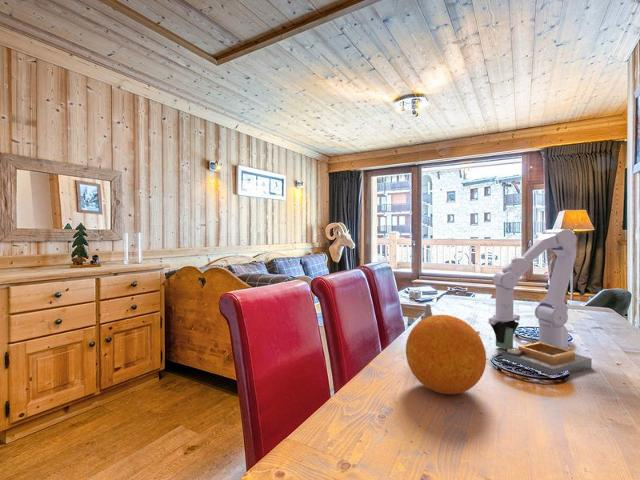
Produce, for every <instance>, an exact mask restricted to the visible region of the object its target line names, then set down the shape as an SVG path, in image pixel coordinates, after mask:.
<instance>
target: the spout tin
mask: <svg viewBox="0 0 640 480" xmlns="http://www.w3.org/2000/svg"><path fill="white" fill-rule="evenodd" d="M495 347H498V348H500V349H504V350H507V348H514V335H513V329H512V328H509V327H507V328H506V330H505V334H504V342H503V343H499V342H497V340H496V339H495Z"/></svg>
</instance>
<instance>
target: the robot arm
mask: <svg viewBox="0 0 640 480" xmlns="http://www.w3.org/2000/svg"><path fill="white" fill-rule="evenodd" d="M577 241H578V237H577V236H576V234H575V233H574V231H573V230H571V229H568V228H564V229H563V228H562V229H546V230H544V231H543V232H542V234H539V235H538V237H537V239H536V240H535V242H534V243H533V244H532V245H531V246H530V247H529V248H528V249H527V251H525V252H524V254H523V255H522V256H517V257H513V258H512V259H511V260H510V261H511V262H510V263H508V264H507V266H505V267H503V268H502V271H498V272H496V273H495V274H494V276H493V278H492V283H493V285H494V286H495V314H493V315H492V317H489V318H488V324H489V325H490V326H491V328H492V330H493V333H494V335H495V341H496V340H497V342H499V343H503V342H504V334H505V330H506V328H507V327H509V328H512V329H513V336H514V335H515V332H516V329H517V328H518V327H519V322H518V321H521V315H519V314H514V289H515V287H517V285H518V282H519V280H520V278H521V277H522V276H524V274H526V272H527V271H529V269H530V268H531V263H532V262H533V261H534V260H536V259H537V258H538V257H539V256H540V255H541V254H543V253H544V252H545V251H546V250H551V251H552V252H554V254H555V255H556V259H555V262H554V265H553V266H554V267H553V271H552V273H551V277H550V281H549V283H548V284H549V285H548V288H547V291H546V294H545V296H544V297H542V298H541V299H540V300H539V303H538V305H536V307H535V309H534V316H535V317H536V319H537V321H538V322H537V323H538V342H545V343H548V344H550V345H552V346H555V347H559V348H563V349H566V350H571V347H569V331H568V329H567V327H566V324H567V322H568V319H569V315H568V309H569V307H568V305H567V304H566V303H565V297H566V294H567V290H568V287H569V283H570V279H571V276H572V271H573V269H574V265H575V261H576V258H577V249H576V248H577V247H576V245H577Z"/></svg>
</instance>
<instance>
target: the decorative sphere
mask: <svg viewBox="0 0 640 480" xmlns="http://www.w3.org/2000/svg"><path fill="white" fill-rule="evenodd" d="M433 315H434V316H430V317H427V318H425V319H423V320H421V319H420V320H421V321H420V320H419V321H420V322H419V321H418V322H419V323H418V322H417V323H416V324H415V325H414V327H412V329H411V331H410V332H409V334H408V337H407V339H406V344H405V356H406V357H405V358H406V363H407V365H408V367H409V370H410V371H411V373H412V374H413V376H414V377H415V379H417V381H418V382H419V383H420V384H422V385H423V386H424V387H426V388H427V389H429V390H430V391H433V392H436V393H438V394H442V395H457V394H462V393H464V392H467V391H469V390H471V389H472V388H473V387H475V386H476V385H477V383H479V381H480V380H481V378H482V377H483V374H484V372H485V369H486V366H487V365H486V364H487V354H486V353H487V352H486V349H485V345H484V343H483V341H482V340H483V339H482V337H481V336H480V334H479V335H478V334H477V332H476V331H475V330H474V329H475V328H473V327H472V325H470V324H469V323H467V322H466V321H465V320H463V319H461V318H459V317H457V316H453V315H448V314H433ZM479 336H480V337H479Z"/></svg>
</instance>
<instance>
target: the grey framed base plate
mask: <svg viewBox="0 0 640 480" xmlns="http://www.w3.org/2000/svg"><path fill="white" fill-rule="evenodd" d="M501 359H505V360H508V361H511V362H514V363H517V364H521V365H523V366H526V367H529V368H533V369H535V370H538V371H541V372H544V373H546V374H549V375H556V374H559V373H561V372H563V371H566V370H568V371H569V373H570V374H569V375H573V374H575V373H579V372H582V371H586V370H587V371H588V370H590V369H592V367H593V366H592V358H591V357H589V356H585V355H584V356H583V355H581V354H576V353H575V351H573V350H571V349H569V350H566V349H563V348H559V347H555V346H552V345H550V344H548V343H545V342H539V341H535V342H533V343H532V342H531V343H528V344H527V343H526V344H524V345H523V344H522V345H518V347H513V348H507V349H506V351H502V353H501Z"/></svg>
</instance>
